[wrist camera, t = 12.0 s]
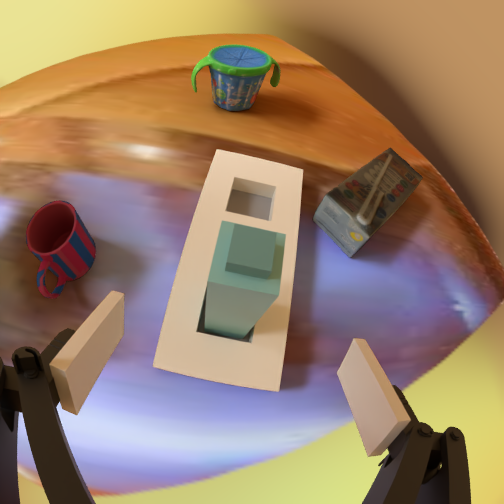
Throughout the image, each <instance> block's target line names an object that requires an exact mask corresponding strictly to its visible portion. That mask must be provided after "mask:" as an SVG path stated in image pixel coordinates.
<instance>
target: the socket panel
mask: <svg viewBox="0 0 504 504" xmlns="http://www.w3.org/2000/svg"><path fill="white" fill-rule="evenodd" d="M302 178H303V169H299V168H295V167H291V166H288V165H284V164H280V163H276V162H272V161H268V160H264V159H260V158H255V157H251V156H247V155H242V154H237V153H233V152H228V151H223V150H218V149H217V150H216V153H215V156H214V159H213V161H212V164H211V167H210V170H209V172H208V175H207V178H206V181H205V184H204V187H203V190H202V193H201V196H200V199H199V202H198V205H197V208H196V211H195V214H194V217H193V220H192V223H191V226H190V229H189V232H188V236H187V239H186V242H185V245H184V249H183V252H182V255H181V259H180V262H179V266H178V269H177V272H176V276H175V280H174V283H173V287H172V290H171V294H170V298H169V301H168V305H167V309H166V313H165V317H164V321H163V325H162V329H161V333H160V337H159V341H158V345H157V349H156V354H155V358H154V362H153V367H155V368H158V369H162V370H166V371H170V372H174V373H178V374H182V375H186V376H190V377H195V378H199V379H204V380H209V381H213V382H219V383H224V384H229V385H235V386H241V387H247V388H253V389H260V390H267V391H279V387H280V381H281V374H282V367H283V360H284V353H285V346H286V338H287V331H288V323H289V315H290V306H291V298H292V289H293V280H294V271H295V261H296V251H297V240H298V229H299V218H300V205H301V192H302ZM222 220H223V221H228V222H233V223H237V224H242V225H246V226H251V227H255V228H260V229H264V230H269V231H273V232H278V233H282V234H286V239H285V248H284V257H283V266H282V275H281V283H280V292H279V296H278V297H277V299H276V300H275V301H274V302H273V304H272V305H271V306H270V307H269V308H268V310H267V311H266V312H265V313H264V314H263V315H262V317H261V318H260V319H259V320H258V321H257V323H256V324H255V325H254V326H253V327H252V328H251V330H250V331H249V332H248V333H247V334H246V335H245V337H244V338H243V339H239V338H233V337H228V336H223V335H218V334H213V333H208V332H204V328H205V310H206V295H207V281H208V276H209V272H210V268H211V263H212V259H213V255H214V251H215V246H216V242H217V238H218V234H219V230H220V226H221V222H222Z"/></svg>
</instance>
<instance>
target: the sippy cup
mask: <svg viewBox="0 0 504 504" xmlns="http://www.w3.org/2000/svg"><path fill="white" fill-rule="evenodd" d="M271 64H275V66H274V71H273V76H272V77H271V80H270V84H271V85H272V86H273V87H276V86H277V85H278V83H279V80H280V67H279V65H278V63H277V62H276V61H275V60H274V59H273V58H271V57H270V56H269V55H268V54H267V53H265V52H264V51H262V50H259V49H257V48H254V47H250V46H244V45H223V46H219V47H216V48H214V49H212V50H211V51H210V52H209V54H208V56H207V57H205V58H203V59H202V60H200V61H199V62H198V64H197V65H196V66H195V68H194V70H193V72H192V77H191V81H192V85H193V89H194V91H195V92H197V88H196V75H197V73H198V72H199V71H200V70H201V69H202V68H203V67H204V66H207V65H208V66H209V69H210V73H211V82H212V95H213V100H214V103H216V104H217V105H218V106H219V107H221V108H223V109H226V110H228V111H241V110H244V109H249V108H250V107H251V106H252V105H253V103H254V101H255V99H256V97H257V95H258V92H259V89H260V87H261V84H262V82H263V80H264V77H265V75H266V73H267V72H268V71H269V70H270V67H271Z"/></svg>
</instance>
